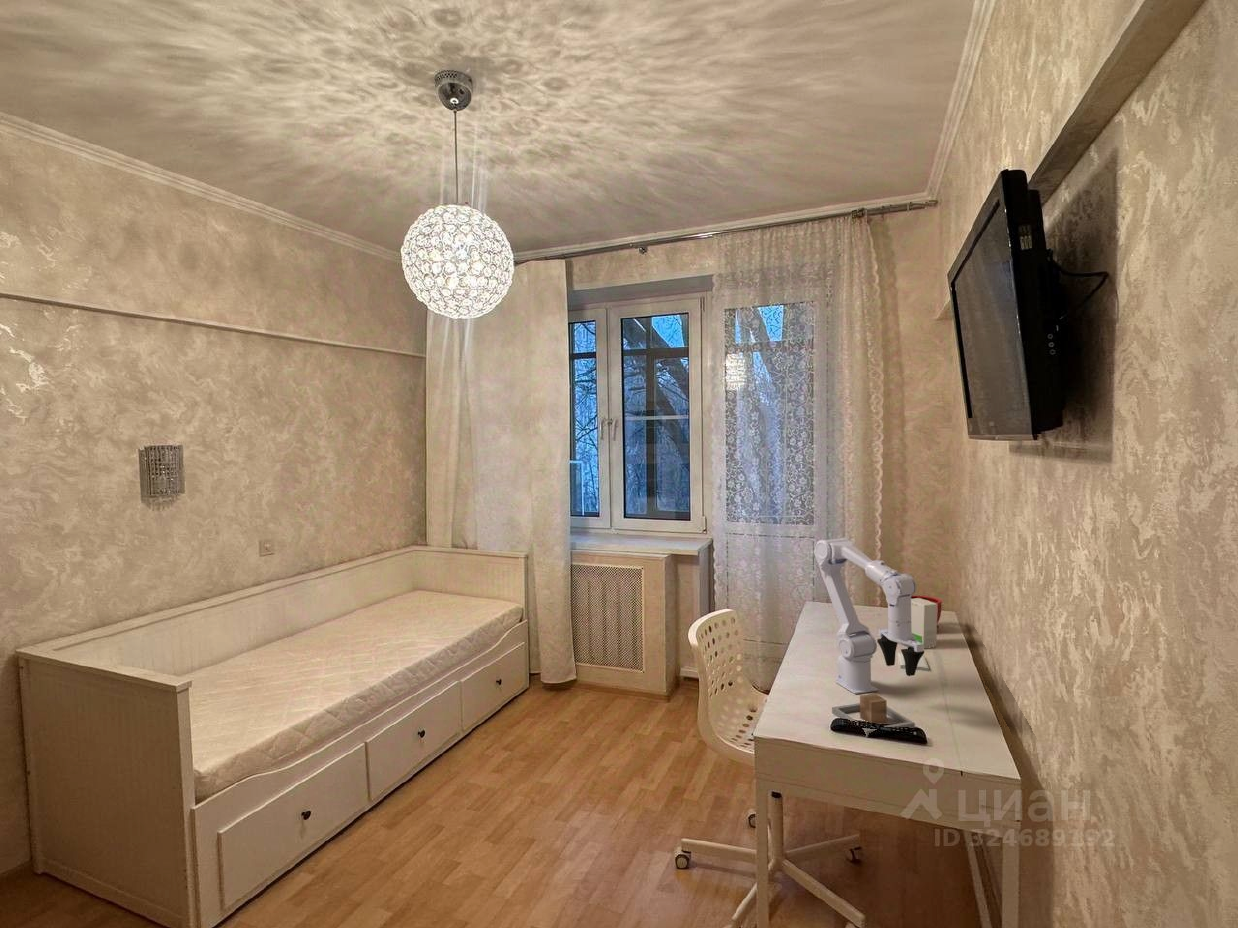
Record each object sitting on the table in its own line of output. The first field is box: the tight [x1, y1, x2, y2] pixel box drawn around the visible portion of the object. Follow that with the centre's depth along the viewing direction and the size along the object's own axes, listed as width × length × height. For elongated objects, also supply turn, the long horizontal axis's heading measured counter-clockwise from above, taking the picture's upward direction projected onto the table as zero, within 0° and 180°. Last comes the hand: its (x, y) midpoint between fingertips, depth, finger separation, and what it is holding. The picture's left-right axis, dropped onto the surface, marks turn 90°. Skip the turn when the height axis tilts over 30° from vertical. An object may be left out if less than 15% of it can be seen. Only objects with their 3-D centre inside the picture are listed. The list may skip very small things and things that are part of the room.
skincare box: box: [911, 598, 938, 650], centre depth 212 cm, size 8×7×16 cm
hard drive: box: [896, 652, 930, 672], centre depth 195 cm, size 2×8×12 cm
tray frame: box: [831, 702, 916, 738], centre depth 155 cm, size 14×14×2 cm
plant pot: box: [911, 595, 943, 631], centre depth 228 cm, size 13×13×12 cm
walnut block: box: [859, 692, 888, 724], centre depth 155 cm, size 4×4×6 cm
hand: (900, 670), depth 161 cm, fingers open, 7 cm apart
